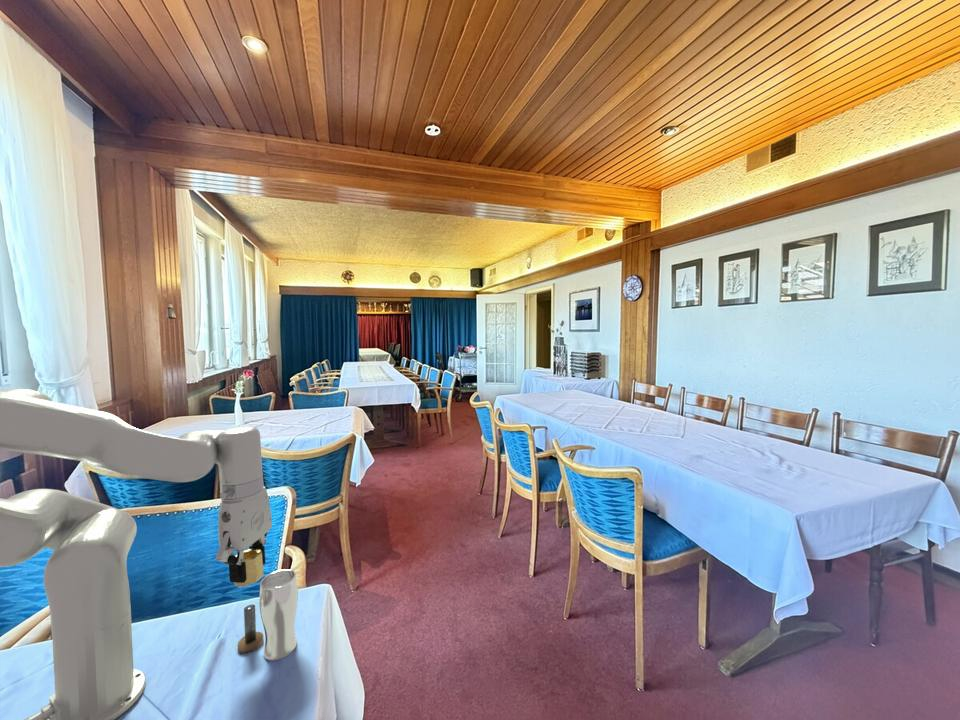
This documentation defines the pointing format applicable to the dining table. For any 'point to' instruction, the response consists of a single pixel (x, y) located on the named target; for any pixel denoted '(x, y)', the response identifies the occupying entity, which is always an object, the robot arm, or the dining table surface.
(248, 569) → the brass ring
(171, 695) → the dining table surface
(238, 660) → the dining table surface
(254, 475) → the robot arm
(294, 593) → the silver metal vase
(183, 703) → the dining table surface
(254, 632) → the stand
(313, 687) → the dining table surface
